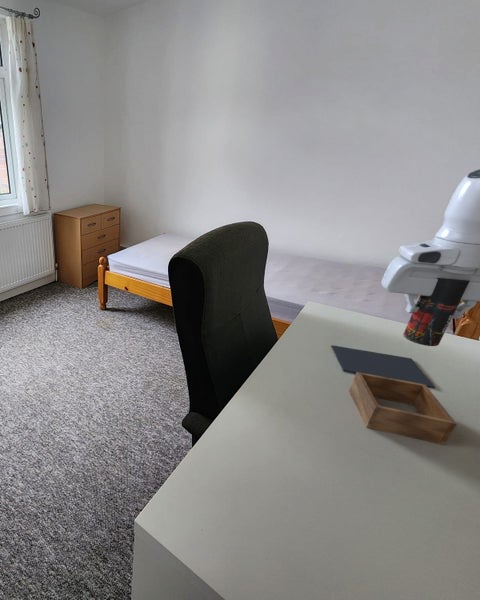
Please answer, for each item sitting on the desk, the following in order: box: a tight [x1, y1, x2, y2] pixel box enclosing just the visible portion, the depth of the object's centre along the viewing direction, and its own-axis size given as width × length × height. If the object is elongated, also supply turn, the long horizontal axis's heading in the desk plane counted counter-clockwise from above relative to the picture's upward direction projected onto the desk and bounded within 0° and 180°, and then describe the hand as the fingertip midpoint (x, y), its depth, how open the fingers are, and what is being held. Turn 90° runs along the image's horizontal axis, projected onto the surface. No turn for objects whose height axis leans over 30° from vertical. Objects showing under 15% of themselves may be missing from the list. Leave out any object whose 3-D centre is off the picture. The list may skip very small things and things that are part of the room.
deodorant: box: [403, 278, 470, 347], centre depth 73 cm, size 6×6×15 cm
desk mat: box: [330, 344, 436, 389], centre depth 98 cm, size 20×14×1 cm
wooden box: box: [349, 372, 458, 446], centre depth 79 cm, size 14×14×6 cm
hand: (431, 314), depth 74 cm, fingers closed on deodorant, 6 cm apart
